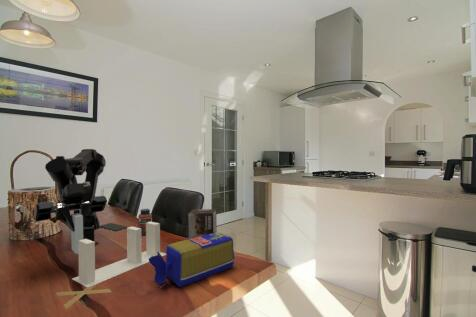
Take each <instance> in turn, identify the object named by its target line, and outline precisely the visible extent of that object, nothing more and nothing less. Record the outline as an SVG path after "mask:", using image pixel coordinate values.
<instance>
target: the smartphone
mask: <svg viewBox="0 0 476 317" xmlns="http://www.w3.org/2000/svg"><path fill="white" fill-rule="evenodd" d="M128 227H129V226H126V225H123V224H122V225H121V224H117V223H113V222H109V223H106V224H101V225H100V228H99V229H103V228H104V229H103V230H107V229H108V230H107V231H111V230H112V232H118V231H122V229H123V230H125V229H126V228H128ZM126 230H127V229H126Z"/></svg>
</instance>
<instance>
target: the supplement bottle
mask: <svg viewBox="0 0 476 317" xmlns="http://www.w3.org/2000/svg"><path fill="white" fill-rule="evenodd" d="M137 219H138V220H137V221H138V222H137V223H138V224H137V226H138V227H137V228H141V236H146V223H147V222H153V214H152V213H151V209H150V208H141V209H140V214H138V218H137Z"/></svg>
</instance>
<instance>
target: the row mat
mask: <svg viewBox="0 0 476 317" xmlns="http://www.w3.org/2000/svg"><path fill="white" fill-rule="evenodd" d="M160 255H161V256H162V257H164V256H166V252H161V251H160ZM152 256H153V255H150V254H147V253H146V250H145V251H142V262H140V263H138V264H135V263H132V262H130V261H127V257H126V258H124V259H121V260H118V261H115V262H113V263H110V264H108V265H105V266H102V267H100V268H95V281H94V282H91V283H89V284H87V283H85V282H83V281H81V280H80V279H79V275H78V276H76V277H75V276H74V277H73V278H71V280H73V281H74V282H76V283H78V284H80V285H82V286H84V287H85V288H90V287H92V286H95V285H97V284H100V283H102V282H104V281H107V280H109V279H111V278H114V277H116V276H118V275H122V274H123V273H126V272H129V271H130V270H133V269H136V268H138V267H140V266H143V265H145V264H148V263H150V262H149V258H150V257H152Z"/></svg>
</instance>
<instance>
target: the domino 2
mask: <svg viewBox="0 0 476 317" xmlns="http://www.w3.org/2000/svg"><path fill="white" fill-rule="evenodd" d="M95 245H96V244H95V242H94V241H91V240H88V239H83V240H79V241H78V250H79V253H78V276H79V279H80V280H81V281H83V282H85V283H87V284H89V283H91V282H94V281H95V270H96V252H95V251H96V250H95V249H96V246H95Z"/></svg>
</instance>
